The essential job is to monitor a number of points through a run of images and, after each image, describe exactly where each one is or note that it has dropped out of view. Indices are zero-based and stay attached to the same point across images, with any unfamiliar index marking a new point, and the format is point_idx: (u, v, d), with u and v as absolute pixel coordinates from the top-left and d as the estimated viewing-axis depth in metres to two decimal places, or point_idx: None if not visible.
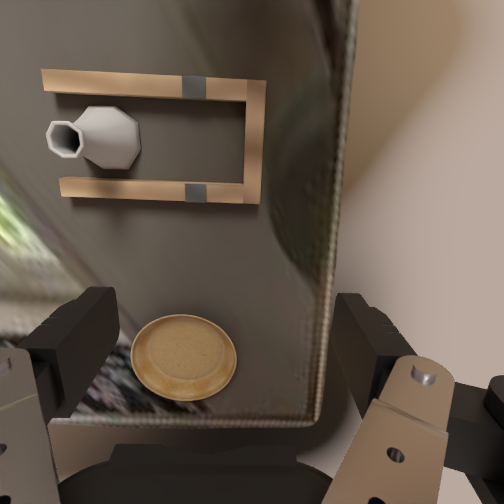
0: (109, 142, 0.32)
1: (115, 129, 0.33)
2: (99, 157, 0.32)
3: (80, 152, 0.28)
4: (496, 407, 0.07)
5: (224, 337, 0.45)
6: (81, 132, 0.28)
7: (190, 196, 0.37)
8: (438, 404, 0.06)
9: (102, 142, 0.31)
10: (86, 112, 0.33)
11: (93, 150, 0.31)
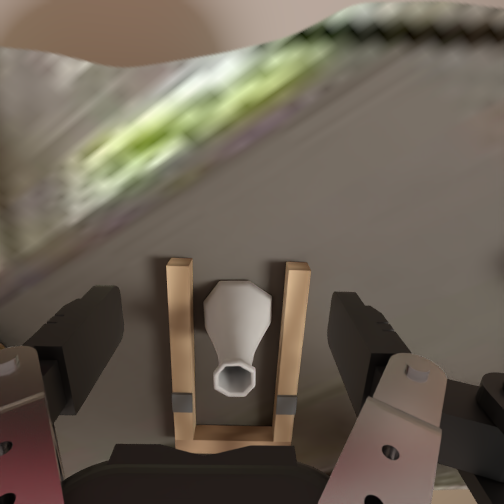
0: None
1: None
2: (216, 350, 0.28)
3: (220, 391, 0.24)
4: (488, 404, 0.07)
5: None
6: (243, 395, 0.24)
7: (178, 399, 0.33)
8: (430, 400, 0.06)
9: None
10: (265, 315, 0.30)
11: None
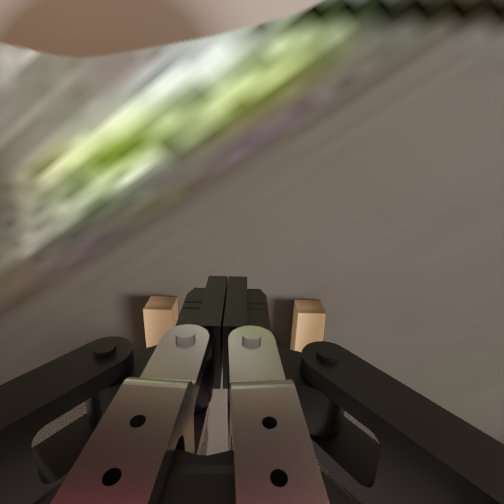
0: None
1: None
2: None
3: None
4: (313, 378, 0.07)
5: None
6: None
7: None
8: (244, 362, 0.07)
9: None
10: None
11: None
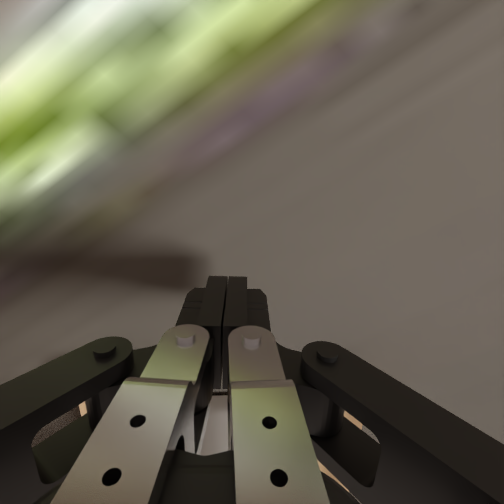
0: None
1: None
2: None
3: None
4: (313, 378, 0.07)
5: None
6: None
7: None
8: (244, 362, 0.07)
9: None
10: None
11: None
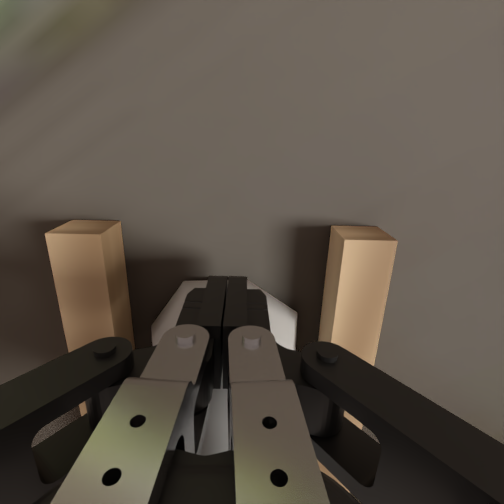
0: None
1: None
2: None
3: None
4: (313, 378, 0.07)
5: None
6: None
7: None
8: (244, 362, 0.07)
9: None
10: None
11: None
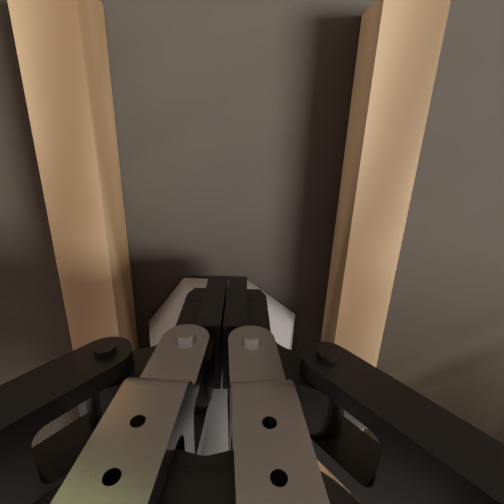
0: None
1: None
2: None
3: None
4: (313, 378, 0.07)
5: None
6: None
7: None
8: (244, 362, 0.07)
9: None
10: None
11: None
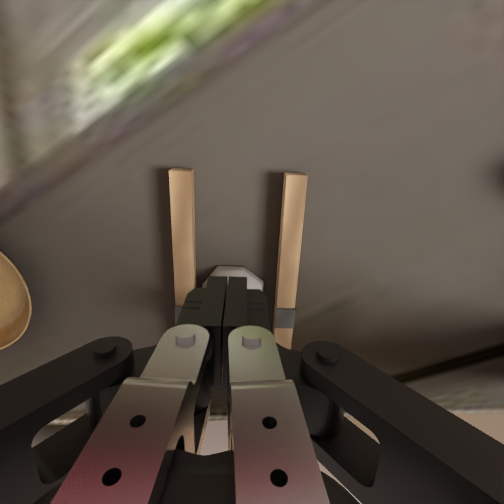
0: None
1: None
2: None
3: None
4: (313, 378, 0.07)
5: (9, 333, 0.37)
6: None
7: None
8: (244, 362, 0.07)
9: None
10: None
11: None
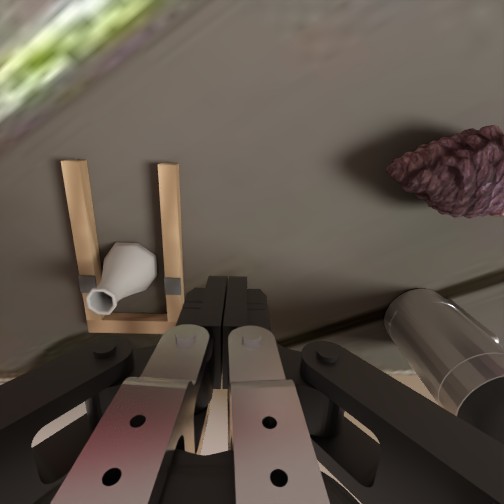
0: None
1: (130, 294, 0.40)
2: None
3: (92, 310, 0.35)
4: (313, 378, 0.07)
5: None
6: (108, 314, 0.35)
7: (83, 280, 0.41)
8: (244, 362, 0.07)
9: None
10: (144, 267, 0.41)
11: None
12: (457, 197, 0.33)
